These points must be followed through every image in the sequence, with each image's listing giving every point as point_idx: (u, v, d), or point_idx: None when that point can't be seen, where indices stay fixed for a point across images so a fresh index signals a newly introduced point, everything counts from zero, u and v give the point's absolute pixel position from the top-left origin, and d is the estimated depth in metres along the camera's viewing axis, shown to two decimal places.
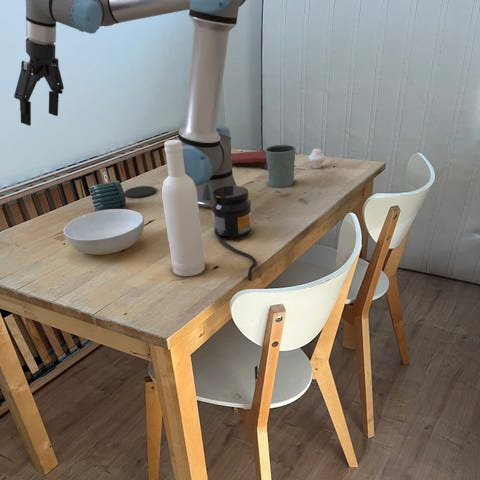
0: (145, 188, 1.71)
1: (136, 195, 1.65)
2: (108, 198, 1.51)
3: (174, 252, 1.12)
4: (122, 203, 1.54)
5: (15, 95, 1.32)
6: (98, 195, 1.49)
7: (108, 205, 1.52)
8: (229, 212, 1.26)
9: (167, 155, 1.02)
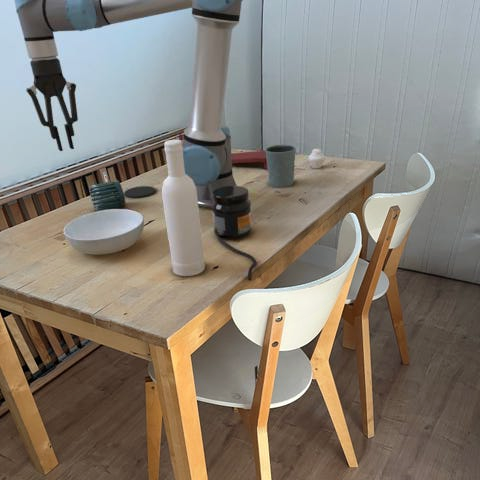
0: (145, 188, 1.71)
1: (136, 195, 1.65)
2: (107, 196, 1.51)
3: (174, 252, 1.12)
4: (121, 201, 1.54)
5: (41, 123, 1.37)
6: (97, 193, 1.50)
7: (107, 203, 1.52)
8: (229, 212, 1.26)
9: (167, 155, 1.02)
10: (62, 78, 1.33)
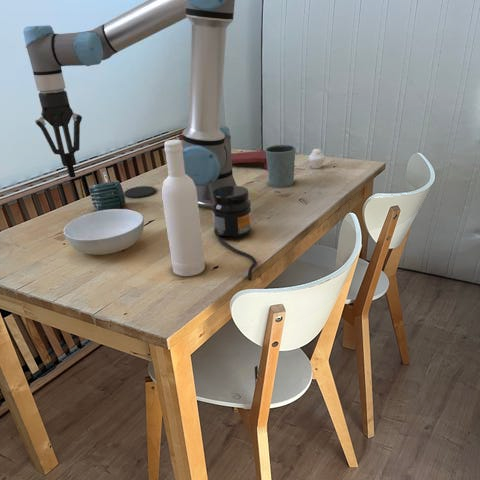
0: (145, 188, 1.71)
1: (136, 195, 1.65)
2: (107, 196, 1.51)
3: (174, 252, 1.12)
4: (121, 201, 1.54)
5: None
6: (97, 193, 1.50)
7: (107, 204, 1.52)
8: (229, 212, 1.26)
9: (167, 155, 1.02)
10: (69, 109, 1.37)
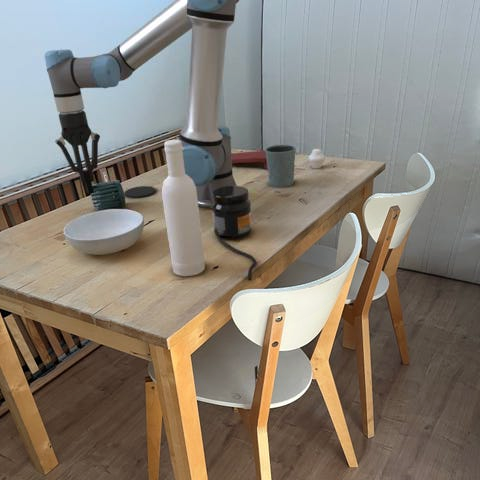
0: (145, 188, 1.71)
1: (136, 195, 1.65)
2: (107, 195, 1.51)
3: (174, 252, 1.12)
4: (121, 201, 1.54)
5: None
6: (97, 192, 1.50)
7: (107, 202, 1.52)
8: (229, 212, 1.26)
9: (167, 155, 1.02)
10: (88, 129, 1.42)
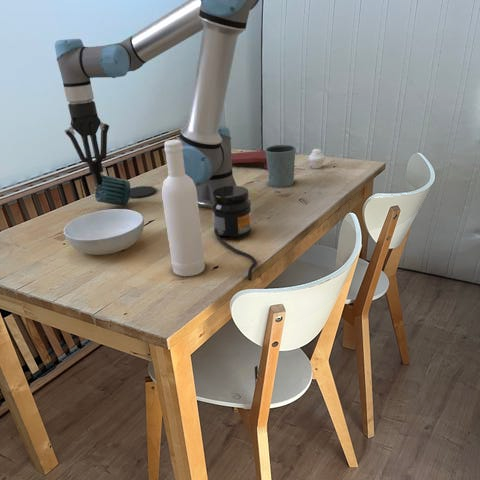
0: (145, 188, 1.71)
1: (136, 195, 1.65)
2: (114, 189, 1.51)
3: (174, 252, 1.12)
4: (125, 200, 1.54)
5: None
6: (105, 183, 1.50)
7: (111, 196, 1.52)
8: (229, 212, 1.26)
9: (167, 155, 1.02)
10: (97, 119, 1.42)
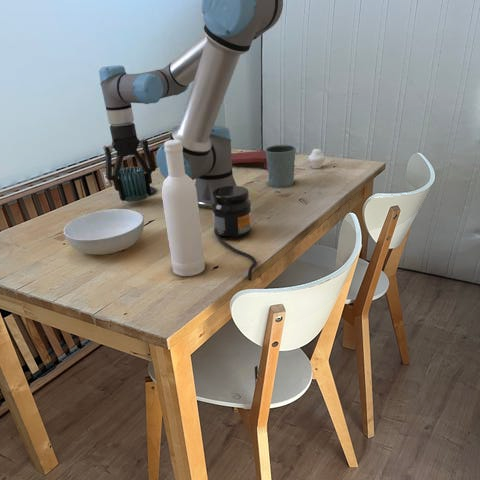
0: None
1: None
2: (140, 183, 1.54)
3: (174, 252, 1.12)
4: (134, 197, 1.55)
5: (106, 176, 1.52)
6: (141, 173, 1.53)
7: (132, 183, 1.53)
8: (229, 212, 1.26)
9: (167, 155, 1.02)
10: (136, 139, 1.50)
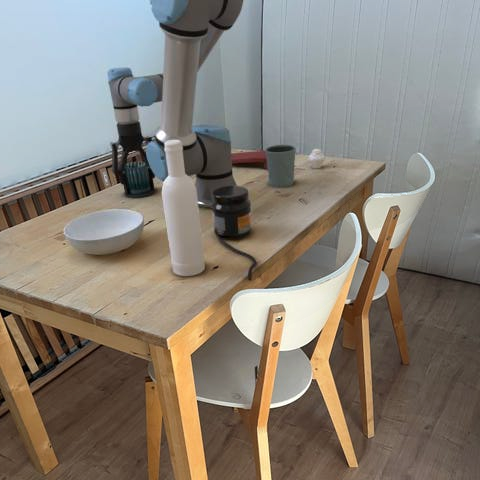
0: None
1: (136, 195, 1.65)
2: (144, 177, 1.64)
3: (174, 252, 1.12)
4: (138, 191, 1.65)
5: (112, 171, 1.62)
6: (145, 168, 1.64)
7: (137, 178, 1.63)
8: (229, 212, 1.26)
9: (167, 155, 1.02)
10: (141, 136, 1.60)
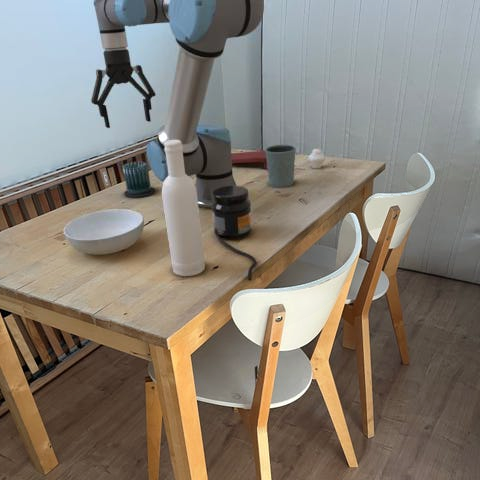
0: None
1: (136, 195, 1.65)
2: (144, 177, 1.64)
3: (174, 252, 1.12)
4: (138, 191, 1.65)
5: (91, 100, 1.49)
6: (145, 168, 1.64)
7: (137, 178, 1.63)
8: (229, 212, 1.26)
9: (167, 155, 1.02)
10: (130, 67, 1.49)
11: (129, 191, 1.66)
